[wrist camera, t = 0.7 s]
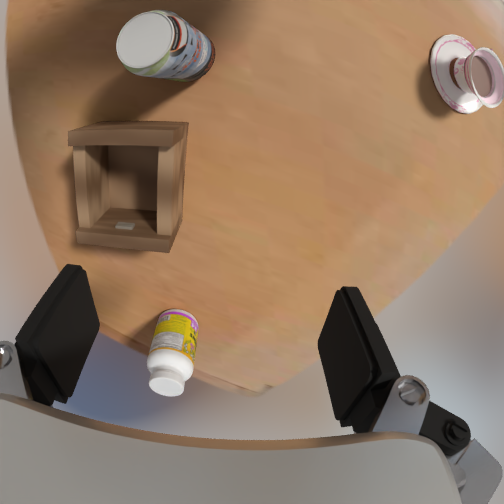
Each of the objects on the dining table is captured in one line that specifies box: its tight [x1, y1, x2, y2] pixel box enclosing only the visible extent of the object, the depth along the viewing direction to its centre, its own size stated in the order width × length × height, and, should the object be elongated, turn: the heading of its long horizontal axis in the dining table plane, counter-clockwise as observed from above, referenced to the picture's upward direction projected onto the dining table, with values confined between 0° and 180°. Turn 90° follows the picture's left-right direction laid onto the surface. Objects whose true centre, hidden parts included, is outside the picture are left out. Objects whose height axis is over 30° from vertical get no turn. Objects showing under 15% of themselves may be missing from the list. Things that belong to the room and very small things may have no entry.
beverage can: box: [116, 10, 215, 82], centre depth 21 cm, size 6×7×12 cm
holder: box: [68, 121, 189, 253], centre depth 29 cm, size 12×11×8 cm
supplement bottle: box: [147, 309, 198, 396], centre depth 39 cm, size 7×7×13 cm
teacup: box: [430, 34, 504, 114], centre depth 23 cm, size 12×12×6 cm
